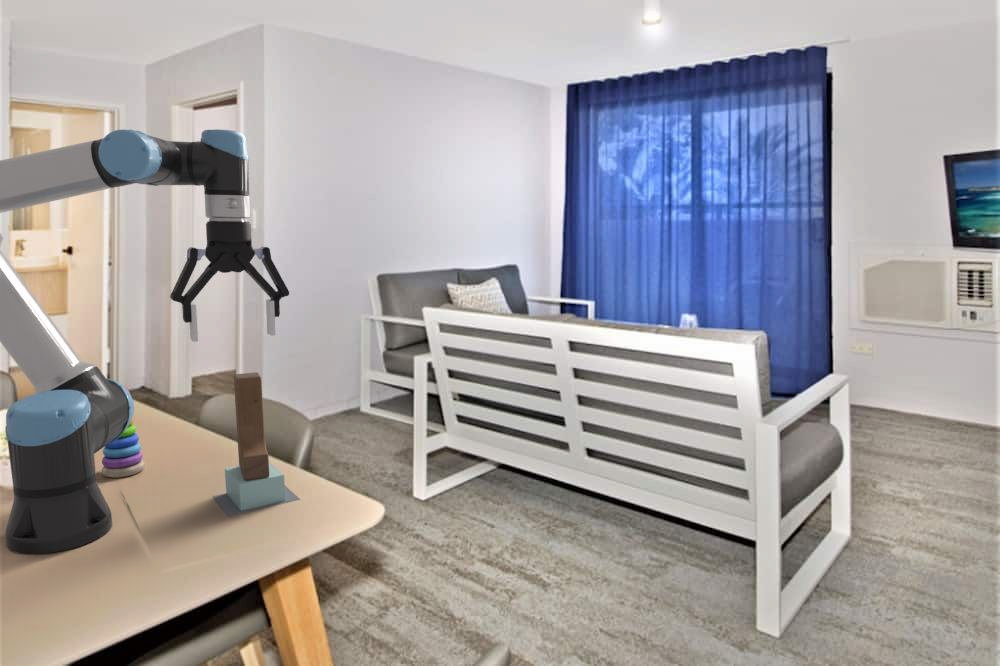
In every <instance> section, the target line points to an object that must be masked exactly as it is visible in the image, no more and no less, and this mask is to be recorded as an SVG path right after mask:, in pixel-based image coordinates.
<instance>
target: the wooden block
mask: <svg viewBox="0 0 1000 666" xmlns="http://www.w3.org/2000/svg"><path fill="white" fill-rule="evenodd" d="M233 384H234V385H233V387H234V401H235V406H234V407H235V419H236V435H237V450H238V451H237V453H238V466H240V469H241V472H242V476H243V479H244V480H253V479H260V478H267V477H269V462H270V461H269V453H268V450H267V449H268V448H267V444H266V437H265V436H266V435H265V421H264V405H263V404H264V403H263V399H264V398H263V386H262V377H261V375H260V374H259V372H255V371H254V372H247V373H235V374H234V375H233Z"/></svg>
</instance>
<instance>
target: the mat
mask: <svg viewBox="0 0 1000 666" xmlns="http://www.w3.org/2000/svg"><path fill="white" fill-rule="evenodd" d="M212 498H213V499H214V500H215V502H216V503H217V504H218V505H219V507H220V508H221V509H222V510H223V512H224V513H225V515H227V517H231V516H234V515H235V516H236V515H239V514H243V513H247V512H251V511H252V512H253V511H256V510H260V509H261V510H262V509H265V508H269V507H274V506H280V505H283V504H287V503H291V502H297V501H301V499H300V498H299V496H297V494H295V493H294V492H293V491H292V490H291V489H290V488H289V487H288V486H286V485H285V501H281V502H277V503H273V504H268V505H264V506H260V507H255V508H251V509H246V510H242V511H241V510H240V509H239V508H238V506H237V505H236V504H235V503H234V502H233V501H232V499H231V498H230V497H229V496H228V495H227V494H226V493H221V494H218V495H217V494H216V495H212Z"/></svg>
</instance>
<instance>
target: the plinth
mask: <svg viewBox="0 0 1000 666" xmlns="http://www.w3.org/2000/svg"><path fill="white" fill-rule="evenodd" d="M224 477H225V479H224V480H225V492H226V494H227V495H228V496H229V497H230V498H231V499H232V501H233V502H234V503H235V504H236V505H237V506H238V508H239V509H240V510H241V511H242V510H246V509H251V508H255V507H260V506H264V505H268V504H273V503H277V502H281V501H285V486H286V485H285V474H284V473H282V472H281V471H280V470H279V469H278V468H277V467H275V465H274V464H272V463H271V462H270V461H269V477H267V478H260V479H253V480H244V479H243V476H242V472H241V469H240V466H239V465H234V466H230V467H229V466H228V467H224Z"/></svg>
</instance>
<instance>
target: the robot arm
mask: <svg viewBox="0 0 1000 666" xmlns="http://www.w3.org/2000/svg"><path fill="white" fill-rule="evenodd" d="M248 155H249V154H248V143H247V138H246V136H245V134H243V133H242V132H241V131H237V130H230V129H217V128H216V129H205V130H203V131H202V132H201V138H200V139H199V141H173V140H166V139H163V138H158V137H156V136H153V135H149V134H146V133H144V132H141V131H140V130H134V129H117V130H113V131H111V132H109V133H108V134H107V135H105V136H104V138H99V139H94V140H89V141H85V142H81V143H80V142H79V143H76V144H72V145H66V146H61V147H58V148H53V149H48V150H44V151H39V152H35V153H34V152H33V153H29V154H25V155H19V156H16V157H15V156H14V157H9V158H6V159H5V158H4V159H1V160H0V214H2V213H6V212H10V211H15V210H19V209H24V208H28V207H33V206H37V205H41V204H45V203H51V202H55V201H59V200H64V199H68V198H73V197H77V196H81V195H85V194H90V193H94V192H99V191H103V190H108V189H113V188H120V187H124V186H128V185H133V184H139V185H146V186H147V185H148V186H155V187H158V186H196V187H197V186H199V187H200V186H203V189H204V192H203V193H204V209H205V210H204V211H205V217H206V218H207V219H209V220H208V221H207V222H206V223H205V227H206V228H205V231H206V232H205V233H206V246H205V248H196V247H188V249H187V256H186V257H187V259H186V262H185V263H184V266H183V268H182V270H181V271H180V274H179V277H178V279H177V281H176V283H175V284H174V286H173V289H172V291H171V293H170V296H169V298H170V299H171V300H172V301H174V302H177V303H180V304H181V308H182V309H181V311H182V319H183V320H182V321H183V322H184V323H187V324H189V337H190V340H191V342H199V336H198V335H199V334H198V332H199V331H198V317H197V316H198V315H197V304H196V303H194V302H193V301H194V300H195V299H196V298H197V296H198V295H199V294H200V292H201V291H202V290H204V288H205V287H206V286H207V284H208V283H209V281H210V280H211V279H212V278H213V277H214V276H215V275H216V274H217V273H218V272H220V273H223V274H225V273H226V274H227V273H231V272H232V273H233V272H234V273H242V272H243V271H244V272H245V273H247V274H248V276H249V277H250V278H251V279H252V280H253V281H254V282H255V283H256V284H257V285H258V287H260V289H261V290H263V291H264V293H265V294H267V296H268V297H269V299H265V307H266V308H265V309H266V310H265V313H266V334H267V335H269V336H271V337H272V336H276V318H279V317H280V314H281V311H280V309H281V308H280V300H281V299H282V298H285V297H288V296H289V295H290V290H289V289H288V287H287V284H285V282H284V280H283V278H282V276H281V274H280V271H278V268H277V266H276V265H275V263H274V262H273V259H272V254H271V249H270V248H269V247H268V246H261V247H258V248H254V247H253V245H252V243H253V242H252V224H251V222H250V221H248V219H250V218H251V203H250V202H251V201H250V182H249V181H250V178H249V177H250V176H249V174H250V172H249V170H250V168H249V161H250V158H249V156H248ZM3 240H4V236H3V235H2V234H1V233H0V343H1V344H2V346H3V348H4V349H5V351H7V353H8V354H9V355H10V356H11V358H12V360H13V361H14V362H15V363H16V365H17V366H18V368H19V369H20V370H21V371H22V373H23V375H25V377H26V378H27V380H28V381H29V383H31V385H32V386H33V387H34V392H33V394H31V395H28V396H26V397H22V398H20V399H19V400H17V401H16V402H14V403H12V405H10V406H9V408H8V409H7V411H6V414H5V431H4V432H5V436H6V439H7V445H8V447H7V448H8V454H9V455H8V456H9V463H10V464H9V465H10V471H11V472H10V473H11V480H12V488H13V496H14V497H13V502H12V505H11V509H10V514H9V517H8V521H7V524H6V526H5V527H6V528H5V534H4V535H5V542H6V543H5V544H6V547H7V549H8V550H9V551H11V552H12V553H13V552H14V553H16V554H23V555H41V554H50V553H57V552H62V551H67V550H70V549H74V548H78V547H81V546H83V545H86V544H89V543H91V542H93V541H96V540H98V539H99V538H101V537H103V536H104V535H106V534H107V533H108V532H109V531H110V530H111V529H112V527H113V516H112V512H111V509H110V507H109V504H108V503H107V501H106V499H105V497H104V494H103V493H102V491H101V489H100V486H99V485H98V483H97V475H96V473H97V472H96V462H95V454H96V453H98V452H99V451H101V450H103V449H104V447H105V446H106V445H107V444H110V443H111V442H113V441H114V440H116V439H118V438H119V437H120V436H121V435H122V433H123V432H124V431H125V430H126V429H127V428H128V426H129V425H130V423H131V421H132V418H133V419H134V411H135V406H134V400H133V397H132V395H131V393H129V392H130V391H129V392H128V390H129V389H128V388H127V387H126V386H125V385H123V384H122V383H121V382H118V381H117V380H113V379H110V378H107V377H105V375H104V373H102V371H101V369H100V368H99V367H98V365H96V364H94V363H88V362H84V361H82V359H81V357H79V356H80V355H78V354H77V352H76V351H75V350H74V348H73V347H72V345H71V344H70V342H69V341H68V340H67V339H66V337H65V336H64V335H63V333H62V331H60V329H59V328H58V327H57V325H56V324H55V322H54V321H53V319H52V318H51V317H50V315H49V314H48V313H47V312H46V309H45V308H43V305H42V304H41V303H40V302H39V300H38V299H37V298H36V296H35V295H34V294H33V292H32V291H31V289H30V288H29V287H28V285H27V284H26V282H25V281H24V280H23V279H22V276H20V275H19V273H18V271H17V270H16V269H15V267H14V266H13V265H12V263H11V262H10V260H8V258H7V257H6V255H5V253H3V251H2V249H1V246H2V243H3ZM255 255H256V257H257V259H258V260H261V262H262V264H263V266H264V268H265V269H266V272H267V274H268V275H269V277H270V279H271V280H272V283H273V284H274V286H275V288H276V289H275V288H273V286H271V284H270V283H269V282H268V281H267V280H266V278H265V277H263V276H262V274H261V273H260V272H259V271H258V270H257V268H255V266H254V265H253V264H252V263H251V262H252V259H253V258H254V257H255ZM204 256H205V258H206V259H207V260H208V261H209V264H208V265H207V266H206V267H205V269H204V271H203V272H202V273H201V274H200V276H199V277H198V278H197V279H196V280H195V282H194V283H193V284H192V285H191V287H190V288H189V289H188V290H187V291H186V292H185V289H186V287H187V286H188V284H189V281H190V279H191V276H192V274H193V272H194V271H195V268H196V266H197V263H198V261H201V259H202V258H203V257H204ZM276 290H277V291H276ZM184 292H185V294H184V295H183V293H184ZM192 302H193V303H192ZM124 386H125V387H126V388H127V389H128V390H127V389H126V388H125V387H124Z"/></svg>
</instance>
